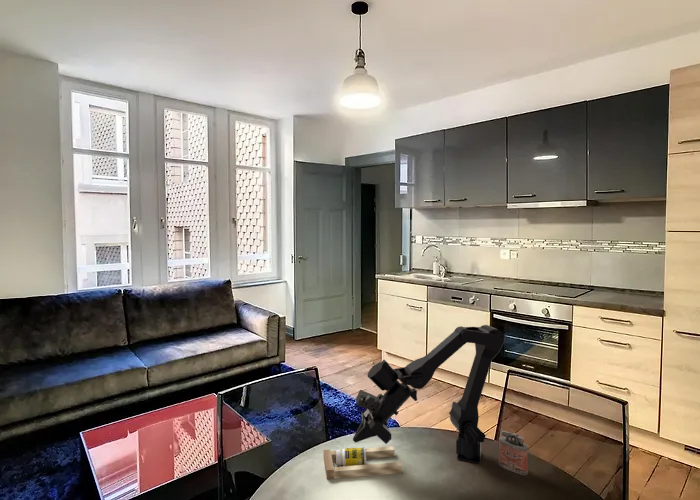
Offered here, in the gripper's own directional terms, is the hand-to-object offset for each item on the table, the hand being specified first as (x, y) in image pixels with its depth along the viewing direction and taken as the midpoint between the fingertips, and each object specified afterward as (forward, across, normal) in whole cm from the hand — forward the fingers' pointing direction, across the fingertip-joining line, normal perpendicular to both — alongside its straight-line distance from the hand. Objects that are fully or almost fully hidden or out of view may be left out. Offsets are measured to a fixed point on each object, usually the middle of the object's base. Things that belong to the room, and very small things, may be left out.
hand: (353, 440), depth 117 cm
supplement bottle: (+1, 0, +6) cm, 6 cm away
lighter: (-26, +8, +36) cm, 45 cm away
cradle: (+3, 0, +7) cm, 8 cm away
